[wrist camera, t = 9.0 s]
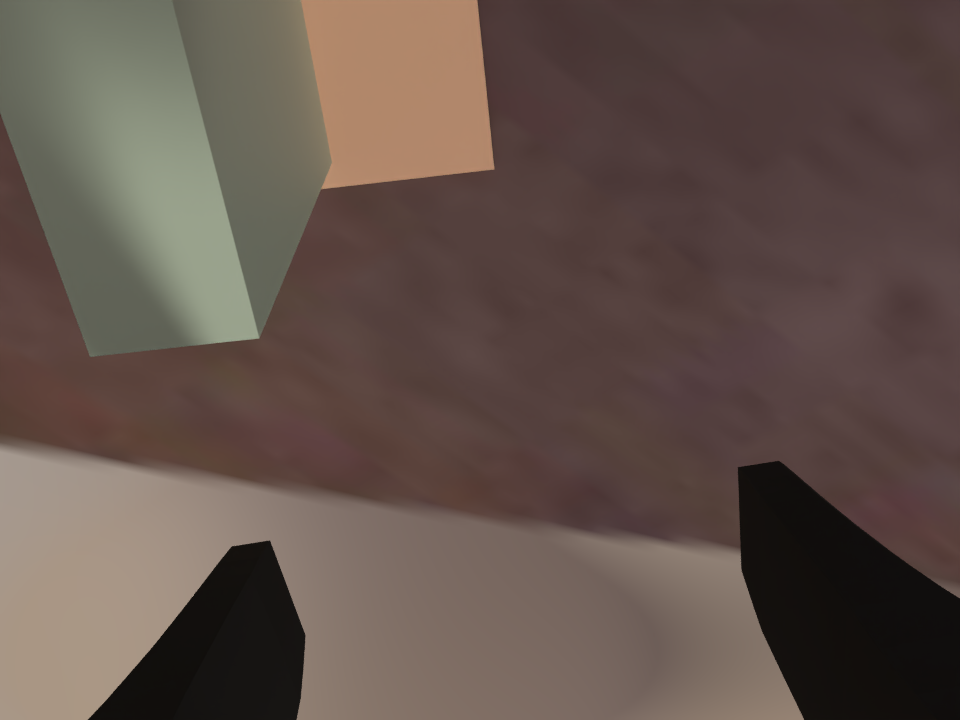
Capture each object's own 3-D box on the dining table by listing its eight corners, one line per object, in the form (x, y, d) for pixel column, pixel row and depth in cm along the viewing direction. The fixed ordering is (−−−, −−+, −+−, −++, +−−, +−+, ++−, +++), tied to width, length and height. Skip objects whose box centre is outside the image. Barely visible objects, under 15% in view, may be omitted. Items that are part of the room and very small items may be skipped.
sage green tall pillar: (276, -128, 18) (136, -134, 10) (332, 162, 21) (259, 338, 13) (154, -113, 18) (-80, -106, 10) (227, 174, 21) (90, 356, 13)
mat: (459, -173, 18) (459, -174, 17) (493, 165, 21) (494, 169, 21) (-26, -113, 18) (-33, -113, 18) (85, 212, 21) (81, 216, 21)
